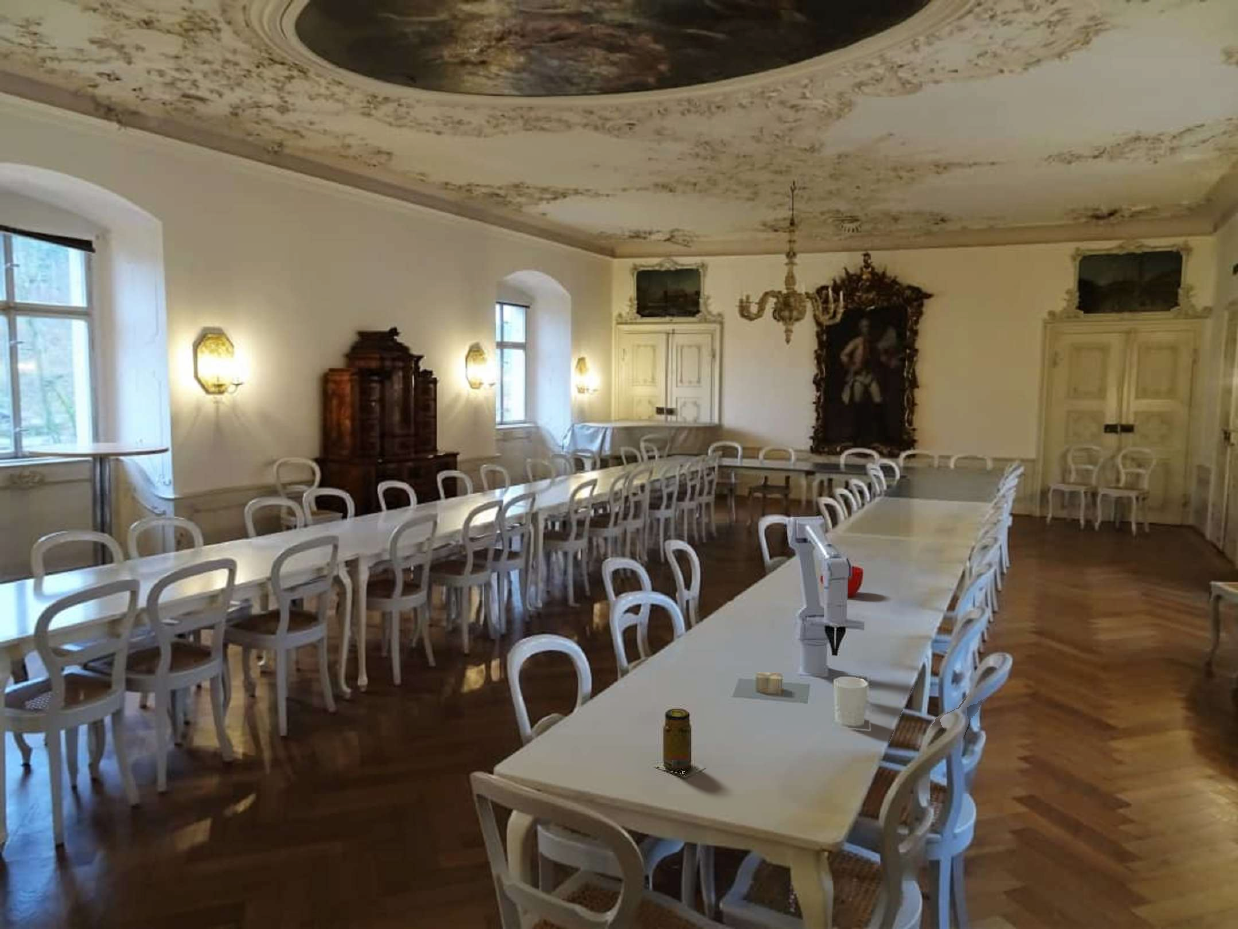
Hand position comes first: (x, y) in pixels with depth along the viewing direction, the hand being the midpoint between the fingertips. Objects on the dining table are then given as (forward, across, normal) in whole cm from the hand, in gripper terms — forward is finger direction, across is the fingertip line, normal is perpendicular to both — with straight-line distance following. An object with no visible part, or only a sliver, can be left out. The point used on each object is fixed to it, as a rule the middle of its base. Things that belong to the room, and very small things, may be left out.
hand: (834, 654), depth 231 cm
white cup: (+11, +4, -19) cm, 22 cm away
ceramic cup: (+11, 0, +105) cm, 106 cm away
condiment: (+11, -31, -53) cm, 62 cm away
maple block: (+8, -13, -3) cm, 16 cm away
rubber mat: (+10, -16, -3) cm, 19 cm away
